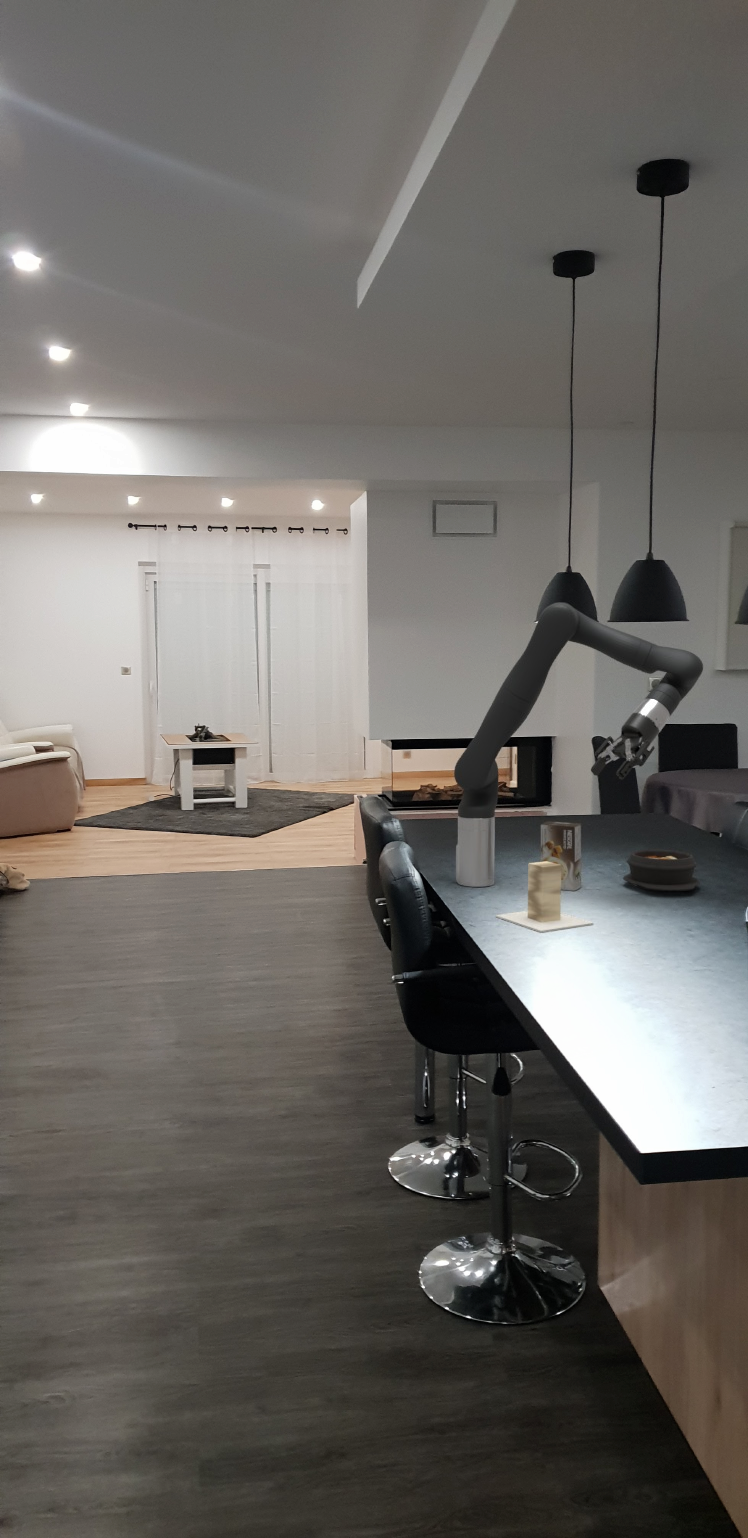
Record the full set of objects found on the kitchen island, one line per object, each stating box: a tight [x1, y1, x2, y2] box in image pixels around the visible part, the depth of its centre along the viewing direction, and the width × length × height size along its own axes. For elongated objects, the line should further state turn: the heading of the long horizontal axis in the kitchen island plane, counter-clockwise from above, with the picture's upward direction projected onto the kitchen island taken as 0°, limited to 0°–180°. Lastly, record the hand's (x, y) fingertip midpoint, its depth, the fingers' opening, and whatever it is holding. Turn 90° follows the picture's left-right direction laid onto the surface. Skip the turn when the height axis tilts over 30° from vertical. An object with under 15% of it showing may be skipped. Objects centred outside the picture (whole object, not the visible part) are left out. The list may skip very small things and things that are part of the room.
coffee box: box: [540, 820, 583, 891], centre depth 264 cm, size 9×6×16 cm
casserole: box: [622, 849, 701, 892], centre depth 265 cm, size 25×19×8 cm
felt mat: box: [495, 910, 594, 934], centre depth 230 cm, size 16×14×1 cm
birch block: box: [527, 861, 562, 923], centre depth 229 cm, size 5×5×12 cm
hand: (606, 774), depth 240 cm, fingers open, 8 cm apart
